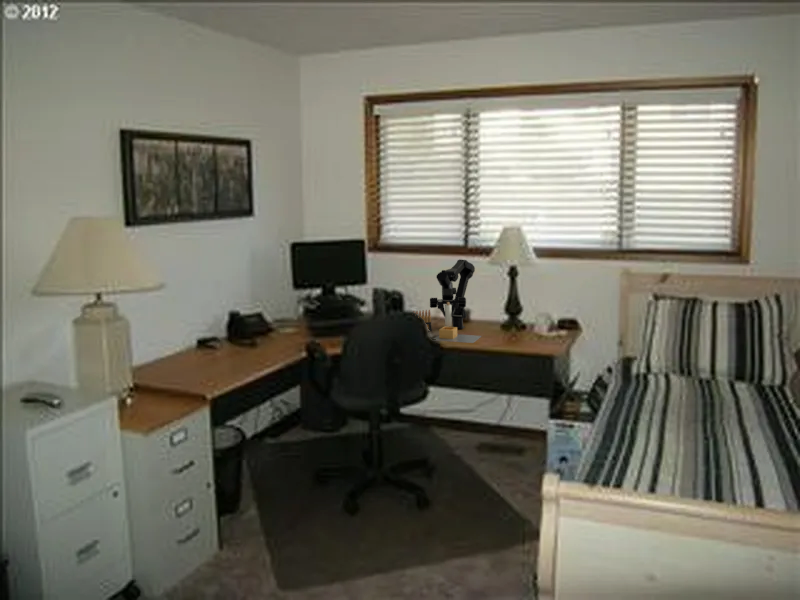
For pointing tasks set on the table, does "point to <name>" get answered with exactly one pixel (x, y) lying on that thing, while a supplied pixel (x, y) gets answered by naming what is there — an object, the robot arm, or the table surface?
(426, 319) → the ammunition clip
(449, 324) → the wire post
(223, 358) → the table surface
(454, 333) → the plate
